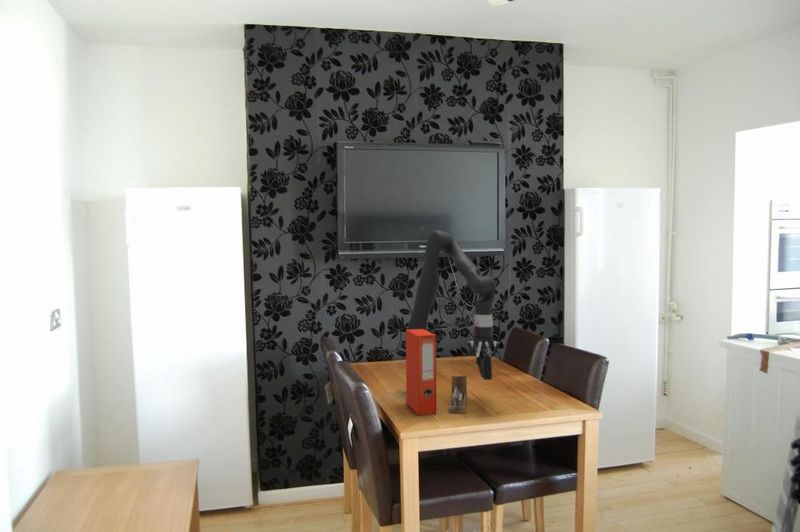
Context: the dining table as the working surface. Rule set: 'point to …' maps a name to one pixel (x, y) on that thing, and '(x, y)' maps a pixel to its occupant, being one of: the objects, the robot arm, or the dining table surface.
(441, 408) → the dining table surface
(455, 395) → the offcut stack
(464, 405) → the rack
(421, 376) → the file binder
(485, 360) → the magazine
